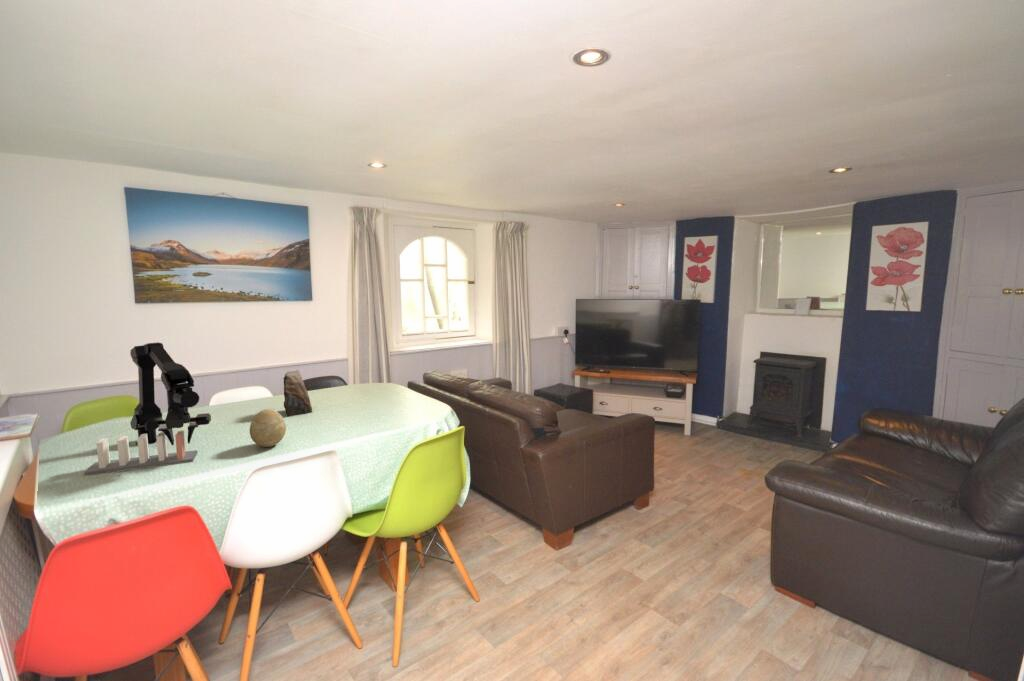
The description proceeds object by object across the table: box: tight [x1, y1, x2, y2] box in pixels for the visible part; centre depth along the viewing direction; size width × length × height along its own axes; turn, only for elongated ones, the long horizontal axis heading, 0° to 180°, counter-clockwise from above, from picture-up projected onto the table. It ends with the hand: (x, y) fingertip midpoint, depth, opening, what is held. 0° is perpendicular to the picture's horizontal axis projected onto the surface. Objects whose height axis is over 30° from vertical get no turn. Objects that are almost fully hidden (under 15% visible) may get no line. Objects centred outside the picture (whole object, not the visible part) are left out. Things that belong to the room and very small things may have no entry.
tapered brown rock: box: [283, 370, 313, 417], centre depth 225 cm, size 13×13×20 cm
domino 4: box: [156, 431, 169, 461], centre depth 164 cm, size 5×2×9 cm, turn 25°
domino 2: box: [116, 435, 131, 466], centre depth 159 cm, size 5×2×9 cm, turn 25°
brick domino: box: [174, 430, 186, 460], centre depth 166 cm, size 5×2×9 cm, turn 25°
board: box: [83, 450, 199, 476], centre depth 162 cm, size 9×30×1 cm, turn 115°
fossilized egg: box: [249, 408, 287, 448], centre depth 180 cm, size 13×13×15 cm
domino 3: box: [136, 434, 150, 463], centre depth 162 cm, size 5×2×9 cm, turn 25°
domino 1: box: [95, 437, 111, 468], centre depth 157 cm, size 5×2×9 cm, turn 25°
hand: (181, 444), depth 166 cm, fingers open, 4 cm apart
